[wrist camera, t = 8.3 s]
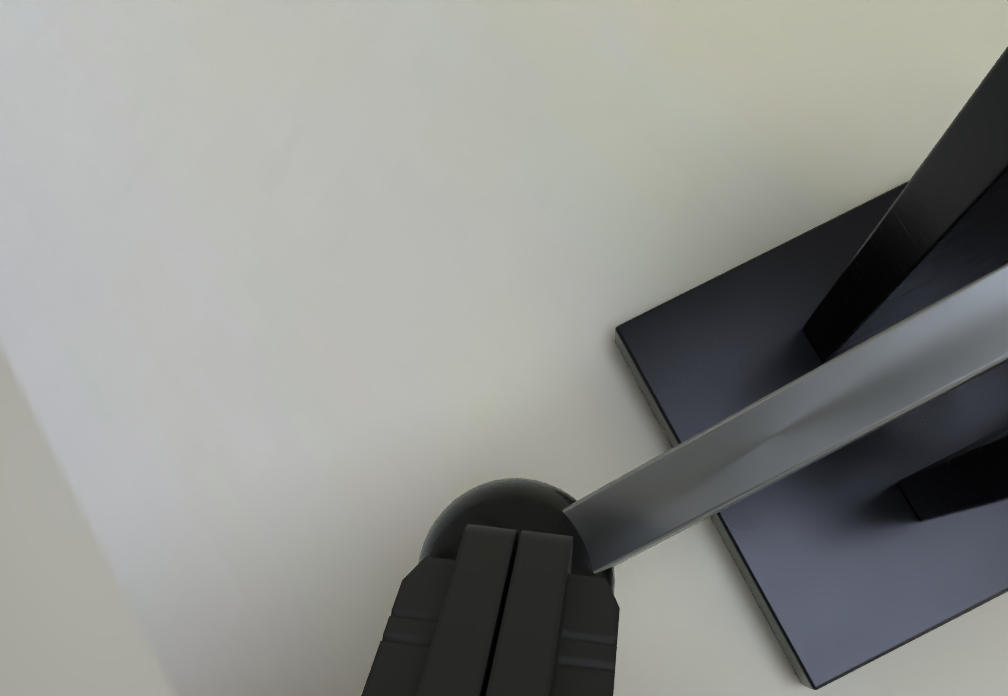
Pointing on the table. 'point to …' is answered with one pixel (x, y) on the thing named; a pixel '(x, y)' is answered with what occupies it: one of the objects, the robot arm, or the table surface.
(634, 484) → the lever handle
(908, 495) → the black lever base
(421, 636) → the robot arm
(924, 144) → the table surface
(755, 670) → the table surface
